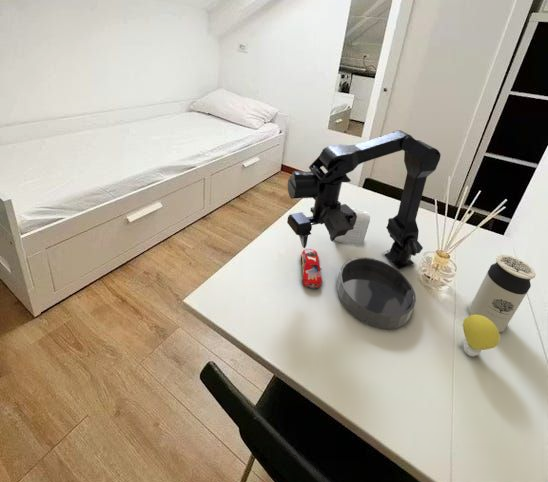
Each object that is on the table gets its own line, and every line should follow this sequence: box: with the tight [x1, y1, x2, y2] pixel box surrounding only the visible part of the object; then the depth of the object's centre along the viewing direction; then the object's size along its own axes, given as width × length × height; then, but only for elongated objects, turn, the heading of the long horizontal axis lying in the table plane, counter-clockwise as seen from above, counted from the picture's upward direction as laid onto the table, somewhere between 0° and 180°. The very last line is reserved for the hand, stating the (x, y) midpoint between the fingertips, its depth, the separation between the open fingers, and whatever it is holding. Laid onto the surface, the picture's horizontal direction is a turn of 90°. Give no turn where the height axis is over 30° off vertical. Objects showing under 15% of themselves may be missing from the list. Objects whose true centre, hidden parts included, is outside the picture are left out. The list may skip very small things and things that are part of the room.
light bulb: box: [462, 314, 501, 357], centre depth 65 cm, size 7×7×10 cm
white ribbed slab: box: [334, 207, 371, 246], centre depth 97 cm, size 10×4×12 cm, turn 84°
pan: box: [336, 257, 417, 330], centre depth 78 cm, size 19×19×4 cm
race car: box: [300, 248, 323, 289], centre depth 83 cm, size 13×5×4 cm, turn 177°
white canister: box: [468, 254, 536, 333], centre depth 72 cm, size 8×8×18 cm
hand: (317, 243), depth 81 cm, fingers open, 9 cm apart
